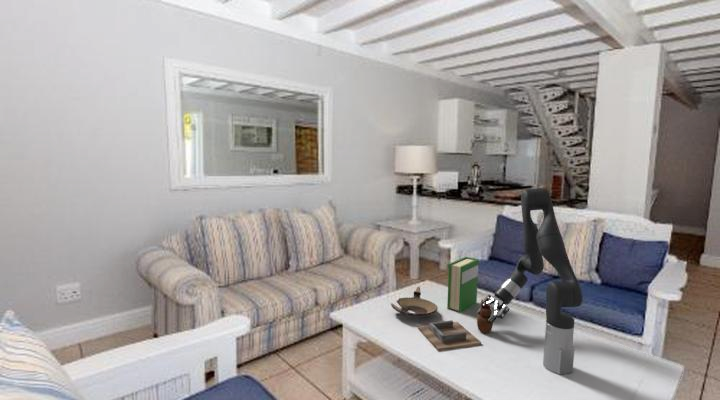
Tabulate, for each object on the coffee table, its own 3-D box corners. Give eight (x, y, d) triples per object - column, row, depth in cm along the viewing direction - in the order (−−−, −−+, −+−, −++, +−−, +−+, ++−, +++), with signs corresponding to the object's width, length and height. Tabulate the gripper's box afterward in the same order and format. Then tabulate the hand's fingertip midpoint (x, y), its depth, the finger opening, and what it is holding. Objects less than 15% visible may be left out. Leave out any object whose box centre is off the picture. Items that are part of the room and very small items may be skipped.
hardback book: (460, 313, 192) (462, 266, 189) (447, 309, 197) (449, 263, 194) (476, 303, 205) (478, 259, 202) (463, 299, 210) (465, 256, 207)
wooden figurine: (475, 332, 172) (477, 300, 170) (478, 327, 177) (479, 296, 175) (491, 336, 169) (493, 303, 167) (493, 330, 174) (495, 298, 172)
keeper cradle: (481, 344, 161) (481, 335, 161) (437, 350, 156) (438, 341, 156) (457, 323, 180) (457, 315, 180) (417, 328, 175) (418, 320, 175)
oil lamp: (382, 317, 187) (382, 301, 186) (410, 297, 212) (411, 284, 211) (424, 329, 175) (424, 313, 174) (449, 307, 199) (450, 293, 198)
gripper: (493, 281, 179) (470, 306, 178) (512, 292, 166) (488, 320, 164) (502, 290, 181) (479, 316, 180) (522, 302, 168) (498, 330, 166)
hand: (483, 318), depth 172 cm, fingers open, 8 cm apart
